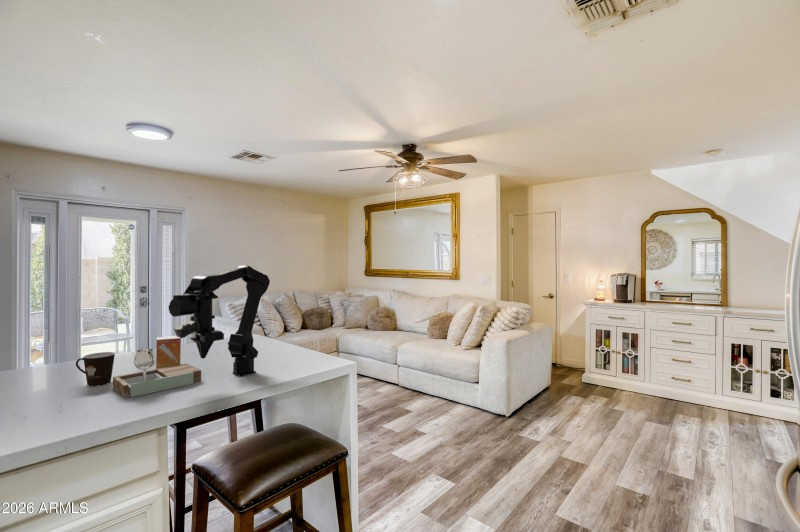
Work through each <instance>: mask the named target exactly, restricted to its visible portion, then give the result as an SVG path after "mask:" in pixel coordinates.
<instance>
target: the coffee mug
mask: <svg viewBox="0 0 800 532" xmlns="http://www.w3.org/2000/svg"><path fill="white" fill-rule="evenodd" d="M115 356H116V354H115V352H113V351H101V352H100V351H99V352H94V353H89V354H85V355H83V356H82V358H78V359H77V360H76V361H75V367H76V368H77V369H78V370H79V371H80V372H82V373H83V374H84V375H85V379H86V385H89V386H88V387H98V386H97V385H101V386H104V385H103V384H105V385H108V384H110V383H111V382H112V378H113V369H114V364H115V363H114V362H115ZM80 361H83V365H84V366H83V367H84V369H82V368H81V367H80V365H79V362H80ZM107 383H108V384H107Z"/></svg>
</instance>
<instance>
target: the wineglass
mask: <svg viewBox="0 0 800 532" xmlns="http://www.w3.org/2000/svg"><path fill="white" fill-rule="evenodd" d="M133 364H134V366H135V368H136V369H138V370H142V371H143V375H144V381H146V373H147V372H146V371H147V370H149V369H151V368H152V367H153V366H154V365H155V364H156V353H155V351H154V349H153V348H143V349H138V350H136V352H135V355H134V361H133Z"/></svg>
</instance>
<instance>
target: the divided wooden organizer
mask: <svg viewBox="0 0 800 532" xmlns="http://www.w3.org/2000/svg"><path fill="white" fill-rule="evenodd" d="M143 371H144V370H142V371H139V372H132V373H127V374H122V375H117V376H115V375H114V376H112V389H113V390H114V389H115V390H116V391H117V392H118V393H119V394H120V395H119V396H120V397H122V399H127V398H126V397H128V398H129V397H130V396H129V385H128V384H127V383H126V382H124V381H123V380H122V379H127V378H132V377H137V376H143ZM146 372H147V373H146V375H148V374H153V373H157V374H158V375H160V376H162V377H168V376H173V375H178V374H183V373H188V372H193V384H195V383H199V382H202V370H201V369H200V368H197V367H195V366H194V365H191V364H189V363H183V364H181V363H180V365H175V366H170V367H164V368H159V369H156V368H154V369H147V370H146ZM115 390H114V391H115ZM116 391H115V392H116ZM117 392H116V393H117ZM118 393H117V394H118Z"/></svg>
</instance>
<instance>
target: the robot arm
mask: <svg viewBox="0 0 800 532" xmlns="http://www.w3.org/2000/svg"><path fill="white" fill-rule="evenodd" d="M239 279H241V280H242V281H243V282H244V283H246V286H245V289H246V292H247V297H246V300H245V305H244V308H243V312H242V315H241V318H240V322H239V326H238V328H237V331H236V332H235V333H230V336H229V341H228V342H227V345H228V346H227V350H228V351H229V353H230V356H231V358H234V362H233V366H232V367H233V368H232V369H233V371H232V374H234V375H235V376H238V377H244V376H248V374H249V375H252V373H253V374H256V373H257V371H256V370H255V359H256V358H258V355H259V351H258V350H257V349H256V347H254V336H253V333H252V332H253V327H254V324H255V320H256V318H257V314H258V310H259V309H258V308H259V305H260V301H261V299H262V296H263V295H264V294H266V293H267V290H268V288H269V286H270V283H271V282H270V281H271V280H270V278H269V276H268V275H267V274H264V273H263V272H261V271H258V270H257V269H255V268H253V267H252V266H250V265H239V266H237V267H234V268H231V269H227V270H223V271H220V272H218V273H215V274H205V275H202V274H201V275H195V276H193V277H192V278H191V280H190V283H189V285H188V286H187V288H186V289H185V291H184V292H183V293H182V294H173V296H172V299H170V302H169V303H168V304H169V305H168V312H169V314H170V316H172V317H174V318H175V317H176V318H177V317H183V316H190V315H191V316H190V318H189V320H188V321H186V322H184V323H181V324H179V325H177V326H174V327H173V330H174V333H175V336H177V337H180V338H181V339H184V338H186V337H188V336H189V335H191V334H192V337H189V339H190V340H191V341H192V342H194V343H195V345H196V347H197V350H198V353H199V356H200V359H205V358H206V357H207V355H208V353H209V351H210V349H211V347H212V345H213V344H214V342H216V341H222V340H223V341H224V339H225V333H224V332H223V331H221V330H218V329H216V328H215V326H213V320H214V319H215V317H216V315H215V314H213V299H214V300H215V299H219V296H218V295H217V294H215V291H216V290H218V289H220V287H221V286H222V285H224V284H225V285H226V284H227V283H230V282H233V281H236V280H239Z"/></svg>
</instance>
